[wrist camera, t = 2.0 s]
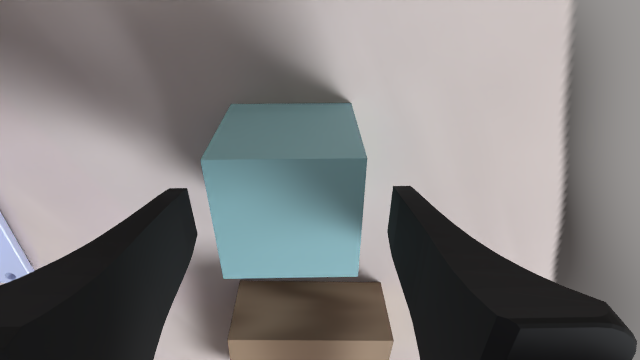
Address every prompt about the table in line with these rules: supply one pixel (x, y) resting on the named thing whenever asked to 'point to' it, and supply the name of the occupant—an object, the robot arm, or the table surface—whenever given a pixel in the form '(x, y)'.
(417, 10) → the table surface
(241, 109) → the teal cube
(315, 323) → the walnut block
